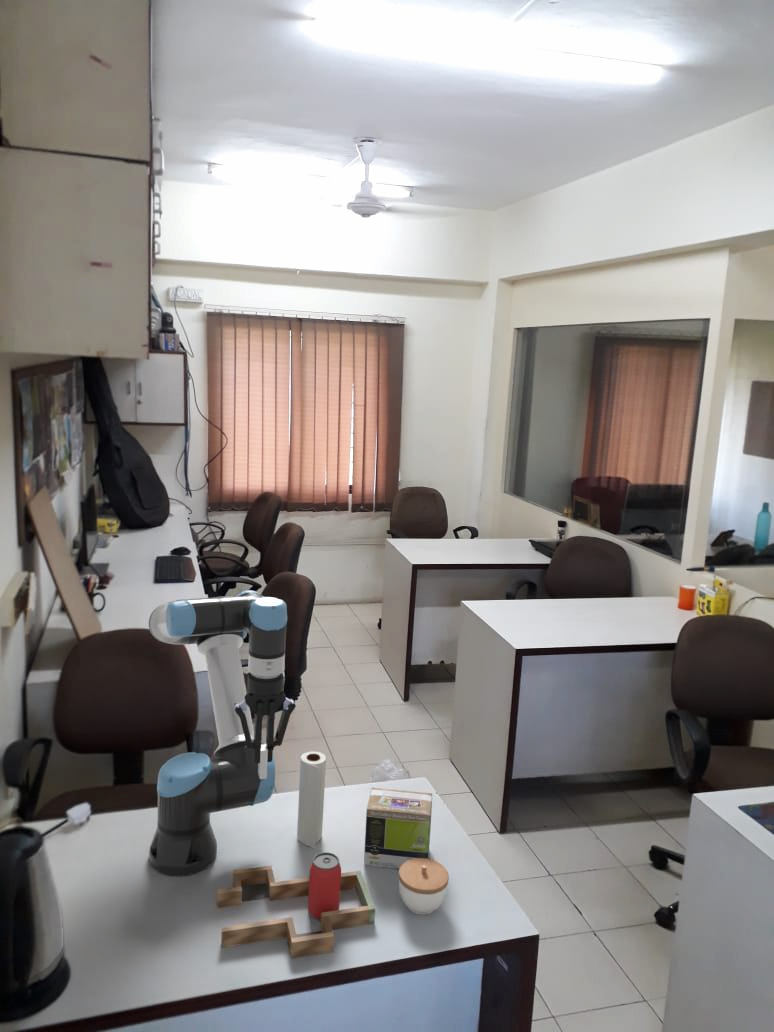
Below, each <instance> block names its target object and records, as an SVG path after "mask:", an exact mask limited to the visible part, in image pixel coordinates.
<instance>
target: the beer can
mask: <svg viewBox="0 0 774 1032" xmlns="http://www.w3.org/2000/svg"><path fill="white" fill-rule="evenodd" d="M341 867H342V866H341V863H340V858H339V857H338V855H336V854H335V853H332V852H330V851H329V852H327V851H326V852H325V851H324V852H320V853H317V854H315V855H314V857H313V858H312V862H311V865H310V868H309V877H308V878H309V895H308V896H307V897H308V899H307V901H308V902H307V903H308V904H307V911H308V913H309V914H310V915H311V917H313V918H314V919H317V920H320V921H321V913H322V912H329V911H336V910H340V902H341V901H340V900H341V891H340V884H341V873H342V868H341Z"/></svg>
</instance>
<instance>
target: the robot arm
mask: <svg viewBox="0 0 774 1032" xmlns="http://www.w3.org/2000/svg"><path fill="white" fill-rule="evenodd" d="M287 607H288V606H287V603H286V602H285V600H283V599H279V598H278V597H271V596H264V595H262V594H260V593H259V592H257V591H256V590H250V589H249V590H248V589H247V590H243V591H241V592H239V593H238V594H237V595H236V596H222V595H219V596H215V597H205V598H204V597H201V598H187V599H185V598H183V599H177V600H176V599H175V600H171V601H168V602H165V603H163V604H161V605H158V606H157V607H156V608H154V610H152V612H151V613H150V616H149V618H148V628H149V632H150V633H151V635H152V636H153V637H154V639H156V640H157V641H159V642H162V643H165V644H170V645H178V646H179V645H180V646H181V645H183V646H184V645H196V646H197V651H198V653H199V654H201V655H202V656H204V658H205V664H206V669H207V677H208V683H209V690H210V693H211V694H210V695H211V701H212V708H213V715H214V719H215V726H216V733H217V739H218V747H216V750H215V751H214V753H213V756H214V758H213V759H211V757H209V756H208V755H207V754H206V753H203V752H199V753H197V752H196V751H192V752H185V753H180V754H178V755H176V756H174V757H171V758H170V759H168V760H167V761H166V762H165V763H164V764H163V765H162V766H161V768H160V769H159V771H158V775H157V777H158V778H157V784H156V793H157V824H156V825H157V826H156V830H155V832H154V835H153V837H152V841H151V843H150V846H149V849H148V852H149V853H148V855H149V856H148V860H149V864H150V866H151V867H152V868H153V869H154V870H155V871H157V872H159V873H160V874H164V875H166V876H173V877H174V876H175V877H177V876H178V877H181V876H190V875H193V874H196V873H199V872H201V871H203V870H205V869H206V868H208V867H210V865H212V863H213V862H214V861H215V859H216V857H217V853H218V851H217V850H218V842H217V839H216V836H215V833H214V830H213V827H212V824H211V814H212V813H217V812H223V811H229V810H233V809H237V808H238V809H239V808H244V807H248V806H250V807H253V806H255V805H257V804H258V805H259V804H263V803H265V802H268V801H269V800H270V799H271V797H272V795H273V794H274V793H273V792H274V788H275V784H276V762H275V757H274V755H273V753H274V749H275V747H279V746H280V747H281V746H282V744H283V741H284V738H285V735H286V731H287V728H288V724H289V721H290V718H291V715H292V713H293V711H294V710H295V708H296V703H295V701H294V699H293V698H288V697H286V694H285V692H284V689H285V673H284V672H285V669H286V667H285V666H286V665H285V663H286V662H285V659H286V645H287V644H286V639H287V625H288V624H287V622H288V620H289V619H288V610H287ZM247 634H248V658H247V659H248V662H247V663H248V665H247V671H248V673H247V686H246V682H245V676H244V671H243V667H242V666H243V665H242V660H241V655H240V650H239V649H240V648H241V646H242V645H243V644H244V639H245V638H247ZM282 706H283V708H282V711H281V714H280V718H279V722H278V725H277V728H276V732H275V720H276V717H275V716H276V713H277V712H278V710H279V709H280V708H281V707H282ZM251 711H252V713H253V714H254V724H253V720H252V715H251ZM264 716H266V733H265V734H266V735H265V736H266V737H265V742H266V743H264V744H263V741H262V737H263V736H262V733H263V732H262V730H263V719H264V718H263V717H264ZM274 735H275V736H274Z"/></svg>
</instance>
